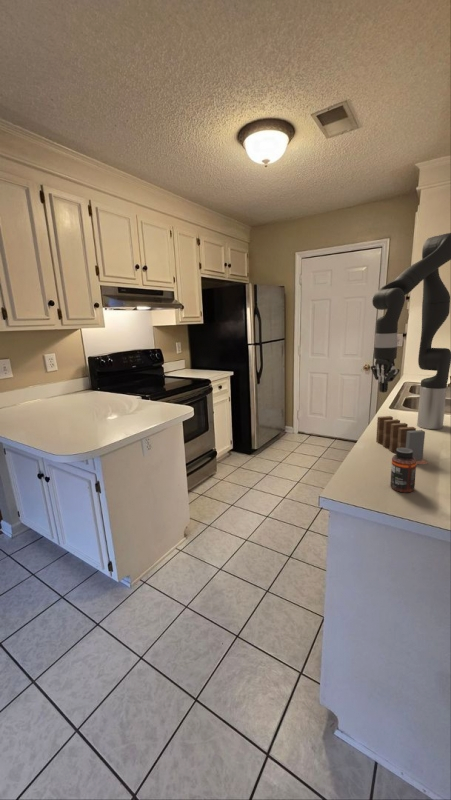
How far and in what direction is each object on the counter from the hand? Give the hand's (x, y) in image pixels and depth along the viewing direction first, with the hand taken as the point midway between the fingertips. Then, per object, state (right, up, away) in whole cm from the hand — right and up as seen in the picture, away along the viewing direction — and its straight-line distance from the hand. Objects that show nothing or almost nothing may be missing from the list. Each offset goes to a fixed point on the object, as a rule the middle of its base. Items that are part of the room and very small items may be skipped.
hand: (383, 391), depth 124 cm
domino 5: (+2, -23, -16) cm, 28 cm away
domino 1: (+1, -19, +1) cm, 19 cm away
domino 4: (+2, -22, -12) cm, 25 cm away
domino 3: (+1, -21, -7) cm, 23 cm away
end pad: (+2, -23, -16) cm, 28 cm away
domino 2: (+1, -20, -3) cm, 20 cm away
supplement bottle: (-11, -28, -33) cm, 44 cm away
